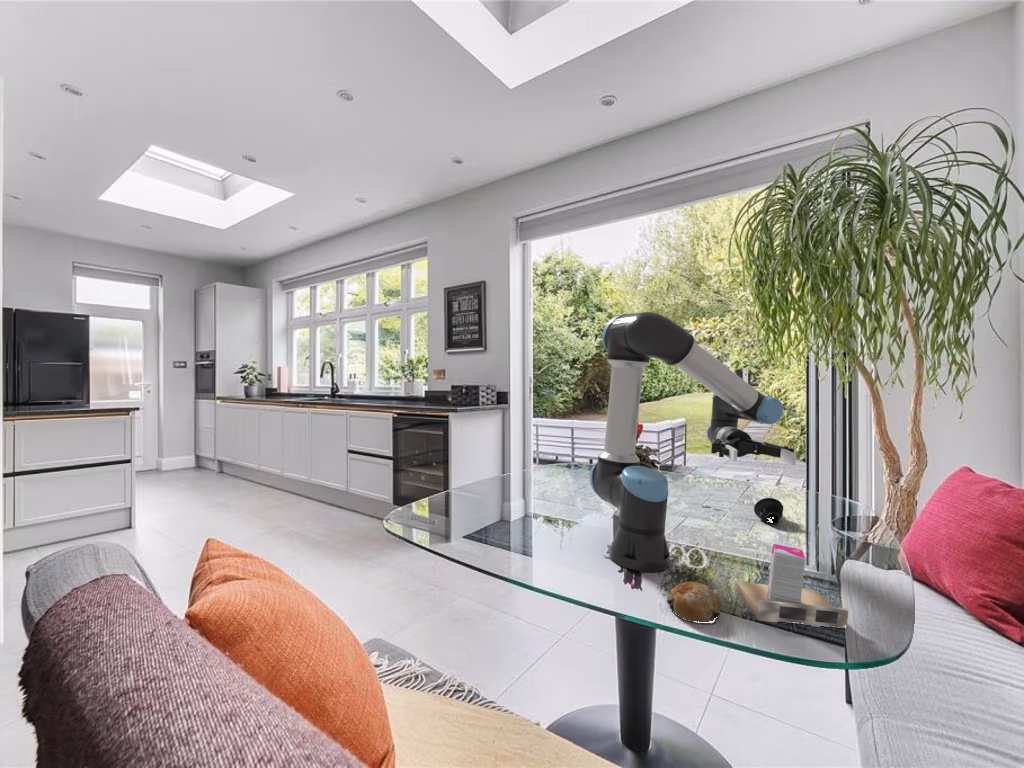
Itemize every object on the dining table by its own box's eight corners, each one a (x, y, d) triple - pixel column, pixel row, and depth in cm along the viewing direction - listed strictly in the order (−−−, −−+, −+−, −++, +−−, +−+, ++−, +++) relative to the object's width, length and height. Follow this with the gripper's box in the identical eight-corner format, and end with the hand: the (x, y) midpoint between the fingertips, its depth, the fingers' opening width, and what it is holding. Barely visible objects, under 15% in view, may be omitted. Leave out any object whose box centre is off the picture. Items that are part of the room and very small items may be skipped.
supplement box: (800, 612, 99) (805, 558, 98) (768, 604, 101) (773, 551, 101) (797, 599, 104) (802, 548, 103) (766, 592, 107) (771, 542, 106)
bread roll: (697, 645, 95) (718, 617, 93) (655, 606, 101) (673, 578, 98) (715, 625, 103) (734, 599, 100) (674, 590, 109) (691, 564, 106)
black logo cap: (754, 511, 156) (743, 480, 173) (763, 538, 159) (751, 505, 176) (785, 505, 153) (770, 474, 170) (794, 532, 156) (778, 500, 172)
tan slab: (758, 621, 99) (760, 602, 98) (736, 590, 111) (737, 573, 111) (847, 630, 97) (848, 611, 96) (813, 597, 110) (815, 580, 109)
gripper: (778, 457, 137) (817, 476, 116) (688, 451, 139) (710, 468, 118) (781, 431, 136) (820, 445, 115) (690, 425, 139) (712, 438, 118)
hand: (764, 457), depth 117 cm, fingers open, 13 cm apart
